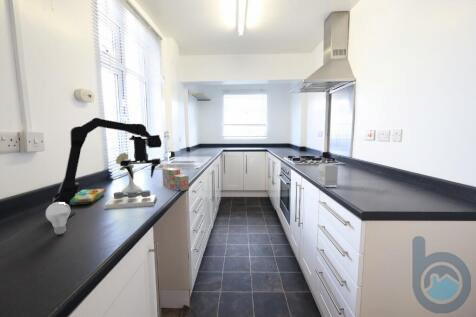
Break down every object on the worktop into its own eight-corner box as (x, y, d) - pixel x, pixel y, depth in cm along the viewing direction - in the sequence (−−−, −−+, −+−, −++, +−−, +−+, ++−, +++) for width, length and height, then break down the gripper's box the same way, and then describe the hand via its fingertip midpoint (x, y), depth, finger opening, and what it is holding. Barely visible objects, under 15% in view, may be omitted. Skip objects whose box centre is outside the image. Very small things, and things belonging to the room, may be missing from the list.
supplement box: (330, 184, 155) (331, 163, 153) (337, 187, 146) (338, 165, 144) (317, 184, 154) (318, 163, 152) (324, 188, 145) (325, 165, 143)
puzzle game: (105, 187, 131) (90, 197, 111) (106, 195, 131) (91, 206, 112) (82, 188, 128) (64, 198, 109) (83, 196, 129) (65, 207, 109)
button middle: (136, 197, 114) (135, 193, 114) (126, 198, 113) (126, 193, 113) (137, 195, 118) (137, 190, 118) (129, 195, 117) (128, 191, 117)
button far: (149, 196, 116) (149, 192, 115) (140, 197, 115) (140, 192, 114) (150, 194, 120) (150, 190, 119) (142, 195, 119) (141, 190, 118)
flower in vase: (137, 190, 140) (135, 151, 137) (145, 194, 132) (143, 152, 129) (115, 194, 131) (112, 152, 128) (122, 198, 123) (119, 153, 120)
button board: (153, 205, 112) (153, 201, 111) (104, 208, 107) (104, 204, 107) (156, 198, 123) (156, 194, 123) (112, 201, 118) (112, 197, 118)
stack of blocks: (189, 189, 143) (188, 170, 141) (180, 191, 138) (179, 172, 137) (170, 184, 157) (170, 167, 155) (162, 186, 152) (162, 168, 151)
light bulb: (52, 240, 76) (49, 206, 74) (44, 235, 79) (41, 203, 78) (76, 232, 82) (73, 201, 80) (67, 228, 85) (64, 198, 84)
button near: (122, 198, 113) (122, 193, 112) (112, 199, 112) (112, 194, 111) (124, 196, 117) (124, 191, 117) (115, 196, 116) (115, 192, 116)
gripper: (160, 146, 125) (162, 174, 127) (124, 148, 120) (126, 176, 122) (158, 148, 114) (160, 178, 116) (118, 149, 110) (121, 180, 112)
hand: (142, 178), depth 117 cm, fingers open, 9 cm apart
